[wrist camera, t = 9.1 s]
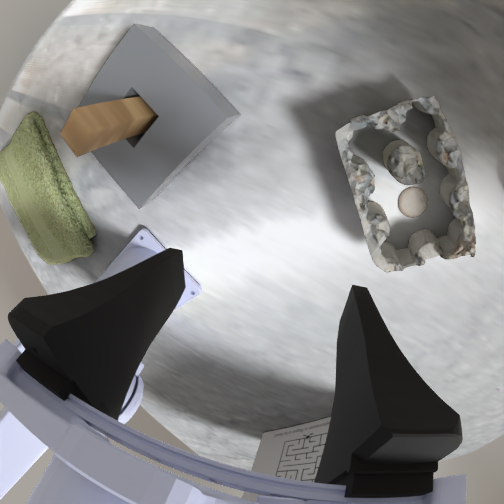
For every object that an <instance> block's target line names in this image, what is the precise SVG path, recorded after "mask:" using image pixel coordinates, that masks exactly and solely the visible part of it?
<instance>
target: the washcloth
mask: <svg viewBox="0 0 504 504" xmlns="http://www.w3.org/2000/svg"><path fill="white" fill-rule="evenodd" d="M0 181H1V182H2V184H3V186H4V188H5V190H6V192H7V195H8V198H9V201H10V203H11V205H12V207H13V209H14V211H15V212H16V215H17V216H18V218H19V220H20V222H21V224H22V226H23V227H24V229H25V232H26V233H27V235H28V237H29V239H30V242H31V243H32V245H33V247H34V249H35V251H36V252H37V254H38V255H39V256H40V257H41V258H42V259H43V260H44V261H45V262H46V263H48V264H50V265H54V264H58V263H69V262H70V261H72V260H73V259H74V258H78V257H82V258H86V257H89V256H90V255H92V254H93V252H94V250H93V244H92V242H91V241H90V240H89V239H91V238H92V237H93V236H95V235H96V231H95V229H94V226H93V225H92V223H91V222H90V219H89V218H88V216H87V213H86V212H85V210H84V209H83V207H82V205H81V203H80V201H79V198H78V197H77V194H76V193H75V191H74V189H73V187H72V184H71V182H70V181H69V177H68V176H67V174H66V172H65V169H64V167H63V165H62V163H61V161H60V159H59V157H58V154H57V152H56V149H55V148H54V145H53V144H52V142H51V139H50V136H49V133H48V130H47V129H46V127H45V125H44V120H43V118H41V117H40V116H39V115H38V114H37V113H35V112H31V113H28V114H27V115H26V116H25V117H24V119H23V120H22V122H21V124H20V126H19V127H18V129H17V131H16V132H15V133H14V135H13V137H12V141H11V143H10V144H9V145H7V146H6V147H5V148H3V150H2V151H1V152H0Z"/></svg>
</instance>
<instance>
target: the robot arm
mask: <svg viewBox="0 0 504 504" xmlns="http://www.w3.org/2000/svg"><path fill="white" fill-rule="evenodd" d="M141 236H142V237H143V238H142V237H141ZM193 291H194V292H193ZM201 292H202V288H201V287H200V286H199V285H198V284H197V283H196V281H195V280H194V279H193V278H192V277H191V276H190V275H189V274H188V273H187V272H186V271H185V270H184V265H183V254H182V250H178V249H173V248H169V249H166V250H165V248H164V247H163V246H162V245H161V244H160V243H159V242H158V241H157V240H156V239H155V237H154V236H153V235H152V234H151V233H150V232H149V231H148V230H147V229H145V228H143V229H141V230H140V231H139V232H138V233H137V234H136V236H135V237H134V238H133V239H132V240H131V241H130V242H129V243H128V244H127V246H126V247H125V248H124V249H123V250H122V251H121V252H120V254H119V255H118V256H117V257H116V258H115V259H114V261H113V262H112V263H111V264H110V265H109V267H108V268H107V269H106V270H105V272H104V273H103V274H102V275H101V276H100V277H99V278H98V279H97V280H96V281H95V282H94V283H93V284H90V285H87V286H84V287H80V288H77V289H74V290H70V291H66V292H62V293H57V294H52V295H46V296H38V297H31V298H24V299H23V300H22V301H21V302H20V303H19V304H18V305H17V306H16V307H15V308H14V309H13V310H12V311H11V312H10V313H9V314H8V320H9V323H10V325H11V327H12V329H13V331H14V332H15V334H16V336H17V337H18V338H17V339H16V340H15V341H14V345H13V344H11V343H10V342H9V341H8V340H7V339H5V340H4V341H3V342H2V343H1V344H0V402H1V403H2V404H3V405H4V406H5V407H4V408H3V409H2V411H1V412H0V499H1V498H2V497H3V496H4V495H5V494H6V493H7V492H8V491H9V490H10V489H11V488H12V486H13V485H14V484H15V483H16V482H17V481H18V480H19V479H20V478H21V477H22V476H23V475H24V474H25V472H26V471H27V470H28V469H29V468H30V467H31V466H32V465H33V464H34V463H35V462H36V461H37V459H39V458H40V457H41V455H42V454H43V453H44V452H45V451H46V450H47V449H48V448H50V449H51V450H52V451H53V452H54V454H55V455H54V457H53V458H52V460H51V462H50V463H49V465H48V467H47V468H46V470H45V471H44V473H43V475H42V477H41V478H40V480H39V482H38V484H37V485H36V487H35V488H34V490H33V492H32V493H31V495H30V497H29V499H28V501H27V502H26V504H466V475H465V474H460V475H454V476H447V477H441V478H437V479H434V480H433V472H436V471H437V470H438V461H439V460H441V459H442V458H444V457H445V456H447V455H449V454H450V453H452V452H453V451H454V450H455V449H457V448H458V447H459V445H460V444H461V443H462V428H461V421H460V415H459V414H458V413H457V412H455V411H454V410H453V409H452V408H451V407H450V406H449V405H447V404H446V403H445V402H444V401H443V400H442V399H441V398H440V397H439V396H438V395H437V394H436V393H435V392H434V391H433V390H432V389H431V388H430V387H429V386H428V385H427V384H426V383H425V382H424V380H423V379H422V378H421V377H420V376H419V374H418V373H417V372H416V371H415V370H414V368H413V367H412V366H411V364H410V363H409V362H408V360H407V359H406V357H405V356H404V355H403V353H402V352H401V350H400V349H399V347H398V346H397V344H396V342H395V341H394V339H393V337H392V336H391V334H390V332H389V330H388V329H387V327H386V325H385V323H384V321H383V319H382V317H381V315H380V313H379V311H378V309H377V307H376V305H375V303H374V301H373V299H372V297H371V295H370V293H369V291H368V289H367V288H366V287H361V286H356V285H352V287H351V290H350V293H349V296H348V299H347V302H346V305H345V308H344V311H343V314H342V317H341V319H340V323H339V331H338V339H337V359H336V386H335V397H334V403H333V409H332V414H331V420H330V424H329V429H328V434H327V438H326V442H325V446H324V450H323V454H322V457H321V461H320V464H319V468H318V471H317V474H316V477H315V480H314V482H306V481H299V480H293V479H287V478H282V477H276V476H271V475H267V474H262V473H258V472H253V471H249V470H245V469H241V468H237V467H234V466H230V465H227V464H223V463H220V462H217V461H213V460H210V459H207V458H204V457H201V456H198V455H195V454H192V453H190V452H187V451H184V450H181V449H179V448H176V447H174V446H171V445H169V444H166V443H164V442H162V441H159V440H157V439H154V438H152V437H150V436H148V435H146V434H143V433H141V432H139V431H137V430H135V429H133V428H131V427H129V426H127V425H125V423H126V422H127V421H128V420H129V419H130V418H131V417H132V416H133V415H134V413H135V412H136V410H137V409H138V407H139V405H140V403H141V400H142V397H143V388H144V383H143V380H142V378H141V377H140V376H139V374H140V372H141V370H142V369H143V367H144V365H143V364H142V363H141V361H142V359H143V357H144V355H145V353H146V351H147V349H148V348H149V346H150V344H151V343H152V341H153V340H154V338H155V337H156V335H157V334H158V332H159V331H160V329H161V328H162V326H163V325H164V324H165V322H166V321H167V319H168V318H169V316H170V315H171V313H172V312H173V310H174V309H176V308H178V307H179V306H181V305H183V304H184V303H186V302H188V301H189V300H191V299H193V298H194V297H196V296H198V295H199V294H200V293H201ZM105 436H107V437H109V438H111V439H112V440H114V441H116V442H118V443H120V444H122V445H124V446H126V447H127V448H129V449H132V450H133V451H136V452H138V453H140V454H142V455H144V456H146V457H148V458H150V459H153V460H155V461H157V462H159V463H162V464H164V465H167V466H169V467H172V468H174V469H177V470H179V471H182V472H184V473H187V474H190V475H192V476H196V477H198V478H201V479H204V480H207V481H210V482H214V483H217V484H220V485H223V486H227V487H230V488H234V489H238V490H242V491H246V492H250V493H254V494H259V495H263V496H258V497H257V498H256V501H255V502H253V501H250V500H246V499H243V498H239V497H236V496H232V495H230V494H226V493H223V492H220V491H218V490H215V489H212V488H209V487H206V486H204V485H201V484H198V483H196V482H193V481H191V480H188V479H186V478H183V477H181V476H178V475H176V474H173V473H171V472H169V471H166V470H164V469H162V468H160V467H157V466H155V465H153V464H151V463H149V462H146V461H144V460H142V459H140V458H138V457H136V456H134V455H132V454H130V453H128V452H126V451H124V450H122V449H120V448H118V447H116V446H115V445H113V444H111V443H110V441H109V440H108V439H107V438H106V437H105Z"/></svg>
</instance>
